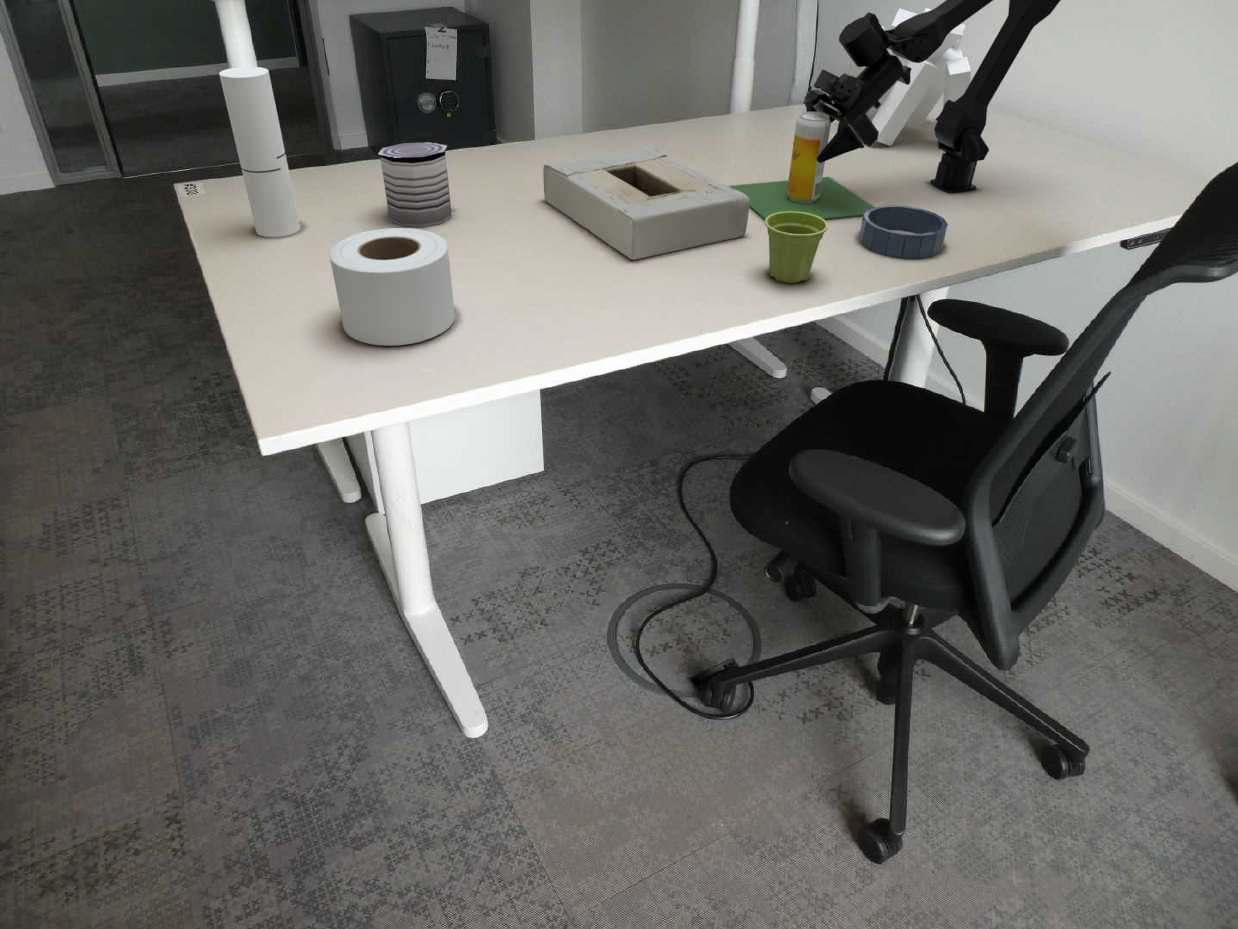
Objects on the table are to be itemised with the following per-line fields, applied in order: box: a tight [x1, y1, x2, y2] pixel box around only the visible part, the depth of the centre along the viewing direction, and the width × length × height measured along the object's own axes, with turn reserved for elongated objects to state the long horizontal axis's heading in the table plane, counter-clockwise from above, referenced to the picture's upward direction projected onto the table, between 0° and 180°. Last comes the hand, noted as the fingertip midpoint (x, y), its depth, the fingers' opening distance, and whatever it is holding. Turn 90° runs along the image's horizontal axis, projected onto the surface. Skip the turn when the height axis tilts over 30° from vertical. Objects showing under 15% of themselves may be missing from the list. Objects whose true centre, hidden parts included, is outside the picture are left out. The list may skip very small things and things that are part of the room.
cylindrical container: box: [218, 66, 301, 238], centre depth 142 cm, size 7×7×25 cm
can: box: [377, 141, 452, 228], centre depth 152 cm, size 11×11×12 cm
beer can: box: [787, 111, 832, 203], centre depth 161 cm, size 6×6×15 cm
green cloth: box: [728, 176, 875, 221], centre depth 165 cm, size 22×20×1 cm
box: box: [542, 145, 750, 261], centre depth 155 cm, size 23×8×32 cm
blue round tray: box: [858, 204, 949, 260], centre depth 149 cm, size 14×14×4 cm
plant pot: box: [764, 211, 829, 284], centre depth 135 cm, size 9×9×9 cm
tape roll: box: [329, 227, 456, 347], centre depth 120 cm, size 16×15×11 cm
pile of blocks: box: [847, 7, 972, 147], centre depth 195 cm, size 35×30×35 cm
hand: (805, 153), depth 160 cm, fingers open, 9 cm apart
